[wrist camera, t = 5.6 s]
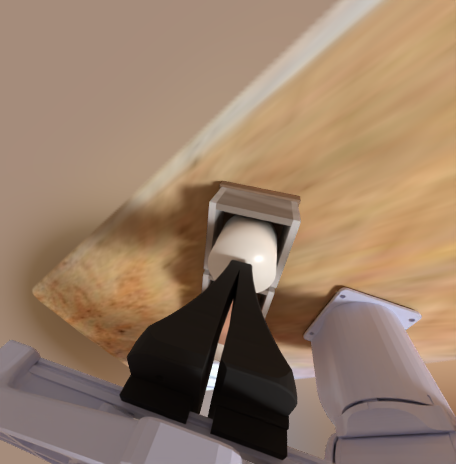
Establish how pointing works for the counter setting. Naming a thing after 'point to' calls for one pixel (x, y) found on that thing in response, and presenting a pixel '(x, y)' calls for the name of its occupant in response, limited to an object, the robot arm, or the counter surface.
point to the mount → (260, 207)
